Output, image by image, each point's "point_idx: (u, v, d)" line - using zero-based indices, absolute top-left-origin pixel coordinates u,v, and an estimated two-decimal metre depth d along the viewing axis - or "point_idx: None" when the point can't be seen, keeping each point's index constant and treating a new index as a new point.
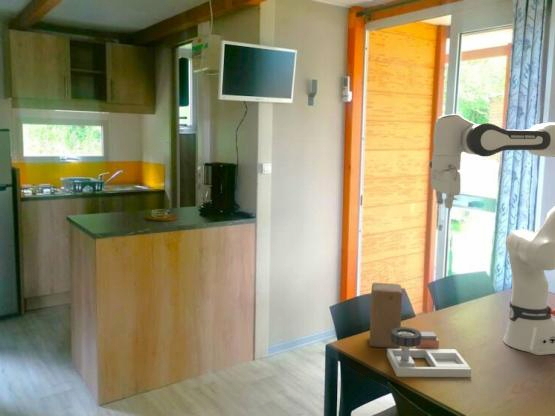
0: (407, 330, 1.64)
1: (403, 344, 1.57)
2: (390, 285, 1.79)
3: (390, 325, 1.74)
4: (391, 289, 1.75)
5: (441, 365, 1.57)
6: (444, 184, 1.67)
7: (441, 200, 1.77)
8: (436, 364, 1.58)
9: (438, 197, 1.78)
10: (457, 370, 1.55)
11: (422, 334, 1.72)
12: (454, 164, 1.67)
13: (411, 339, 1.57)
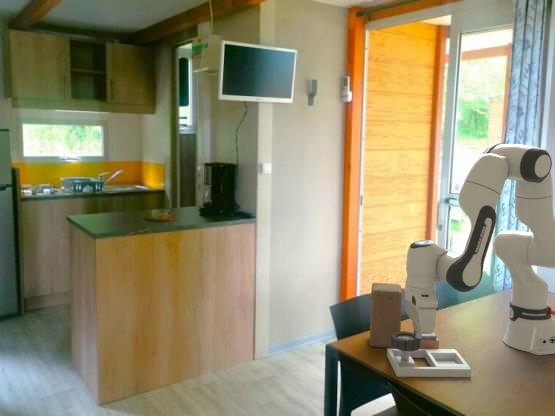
0: (407, 334, 1.64)
1: (403, 348, 1.57)
2: (390, 285, 1.79)
3: (390, 325, 1.74)
4: (391, 289, 1.75)
5: (441, 365, 1.57)
6: None
7: None
8: (436, 364, 1.58)
9: None
10: (457, 370, 1.55)
11: (422, 334, 1.72)
12: None
13: (411, 343, 1.57)
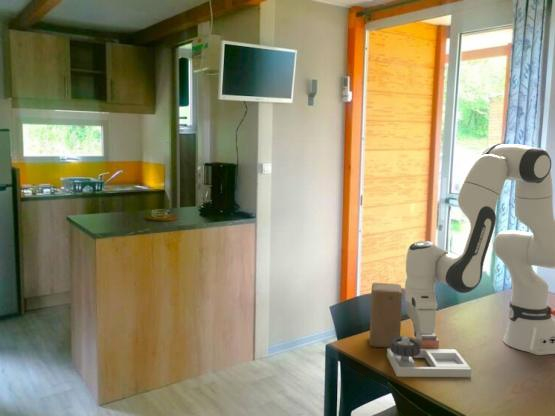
0: None
1: (403, 354, 1.58)
2: (390, 285, 1.79)
3: (390, 325, 1.74)
4: (391, 289, 1.75)
5: (441, 365, 1.57)
6: None
7: None
8: (436, 364, 1.58)
9: None
10: (457, 370, 1.55)
11: None
12: None
13: (411, 349, 1.57)
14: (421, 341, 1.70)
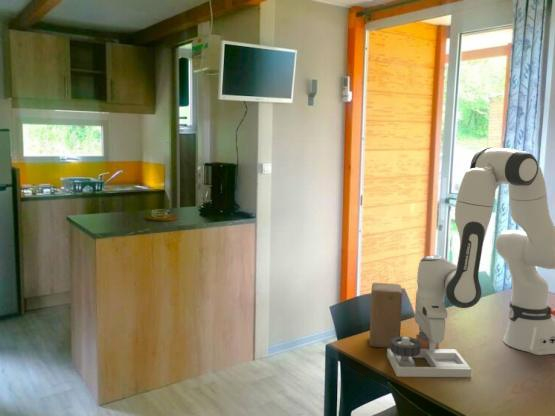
0: None
1: (403, 354, 1.58)
2: (390, 285, 1.79)
3: (390, 325, 1.74)
4: (391, 289, 1.75)
5: (441, 365, 1.57)
6: None
7: None
8: (436, 364, 1.58)
9: None
10: (457, 370, 1.55)
11: (422, 334, 1.72)
12: None
13: (411, 349, 1.57)
14: (421, 341, 1.70)
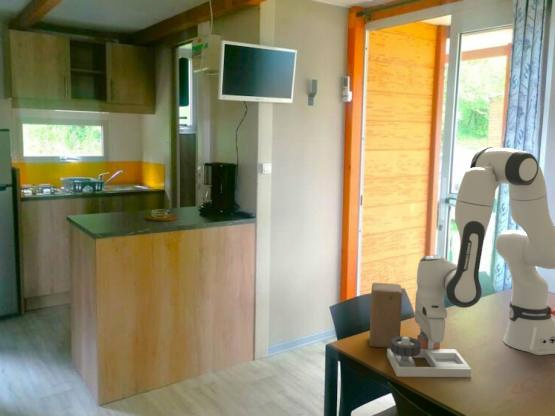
0: None
1: (403, 354, 1.58)
2: (390, 285, 1.79)
3: (390, 325, 1.74)
4: (391, 289, 1.75)
5: (441, 365, 1.57)
6: None
7: None
8: (436, 364, 1.58)
9: None
10: (457, 370, 1.55)
11: (423, 335, 1.71)
12: None
13: (411, 349, 1.57)
14: (422, 342, 1.69)
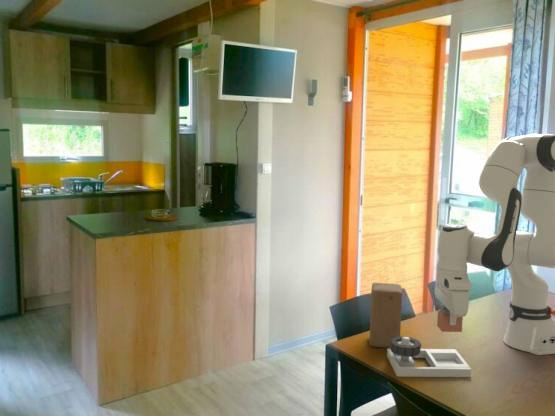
0: None
1: (403, 354, 1.58)
2: (390, 285, 1.79)
3: (390, 325, 1.74)
4: (391, 289, 1.75)
5: (441, 365, 1.57)
6: None
7: None
8: (436, 364, 1.58)
9: None
10: (457, 370, 1.55)
11: (444, 309, 1.59)
12: None
13: (411, 349, 1.57)
14: (443, 317, 1.58)
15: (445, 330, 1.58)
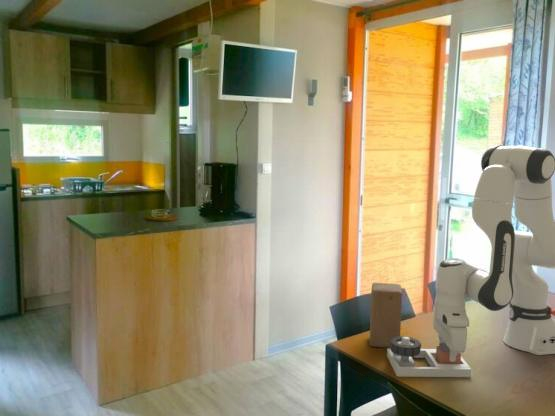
0: None
1: (403, 354, 1.58)
2: (390, 285, 1.79)
3: (390, 325, 1.74)
4: (391, 289, 1.75)
5: (441, 365, 1.57)
6: None
7: None
8: (436, 364, 1.58)
9: None
10: (457, 370, 1.55)
11: (443, 346, 1.61)
12: None
13: (411, 349, 1.57)
14: (442, 353, 1.59)
15: None
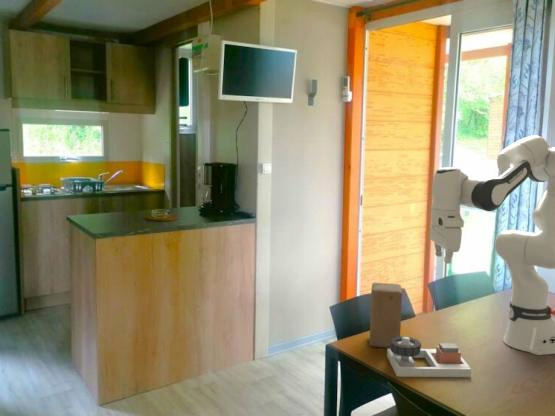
0: None
1: (403, 354, 1.58)
2: (390, 285, 1.79)
3: (390, 325, 1.74)
4: (391, 289, 1.75)
5: (441, 365, 1.57)
6: None
7: None
8: (436, 364, 1.58)
9: None
10: (457, 370, 1.55)
11: (443, 346, 1.61)
12: None
13: (411, 349, 1.57)
14: (442, 353, 1.59)
15: None
